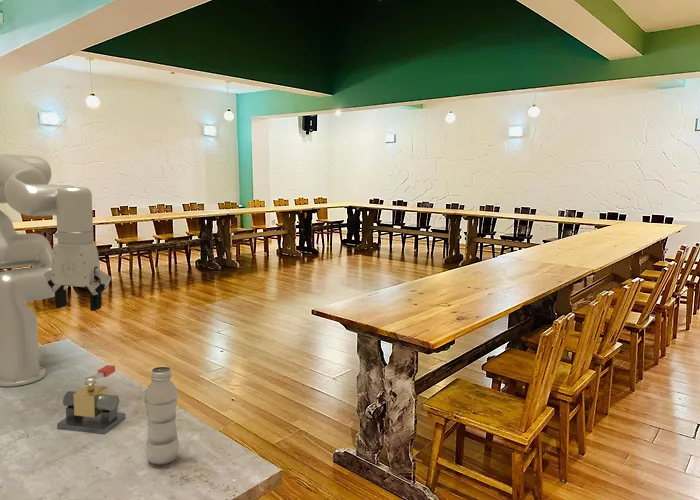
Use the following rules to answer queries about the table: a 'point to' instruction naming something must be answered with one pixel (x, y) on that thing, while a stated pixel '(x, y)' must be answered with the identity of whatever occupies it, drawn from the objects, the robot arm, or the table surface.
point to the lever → (100, 374)
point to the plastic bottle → (161, 417)
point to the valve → (91, 410)
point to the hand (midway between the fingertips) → (78, 308)
